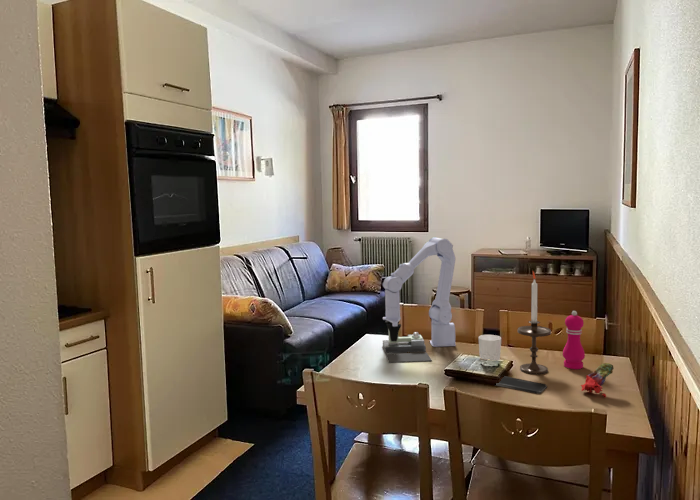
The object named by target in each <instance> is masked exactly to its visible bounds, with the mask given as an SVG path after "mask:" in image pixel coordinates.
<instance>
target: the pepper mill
mask: <svg viewBox="0 0 700 500" xmlns="http://www.w3.org/2000/svg"><path fill="white" fill-rule="evenodd" d="M564 320H565V321H564V324H565V327H566V334H567V340H566V343H565V346H564V348H563V350H562V357H563V358H564V360H563V367H564V368H566V367H567V368H566V369H569V368H570V370H582V369H583V368H584V362H583V360H584V359H585V357H586V353H585V352H586V351H585V349H584V347H583V345H582V342H581V334H583V330H582V328H583V327H584V323H585V322H584V319H583V318H582V317H581V316H579V315H578V312H577V311H576V310H572V312H571V314H570V315H567V317H566V318H564ZM581 368H582V369H581Z"/></svg>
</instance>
